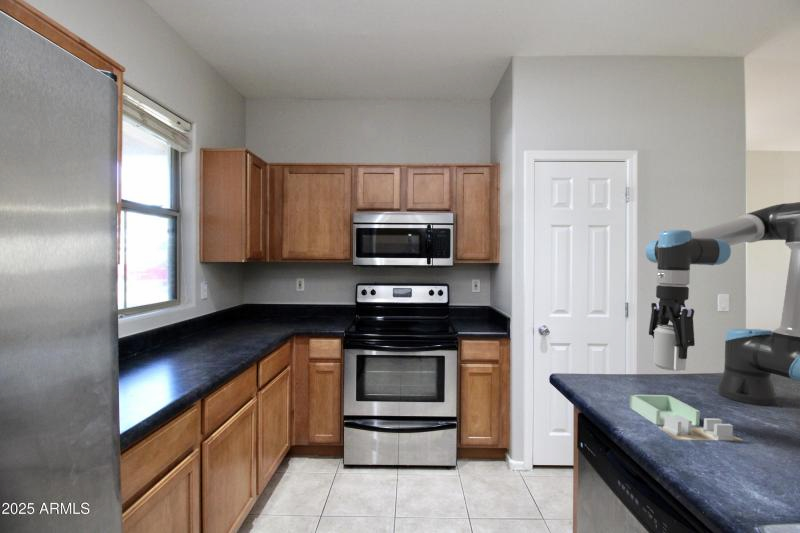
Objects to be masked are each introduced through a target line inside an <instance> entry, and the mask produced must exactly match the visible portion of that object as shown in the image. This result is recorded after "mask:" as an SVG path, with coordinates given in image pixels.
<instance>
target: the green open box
mask: <svg viewBox="0 0 800 533" xmlns="http://www.w3.org/2000/svg"><path fill="white" fill-rule="evenodd" d="M629 409H630V410H633V411H634V412H636V413H637V414H639V415H640V416H642V417H644V418H645V419H646V420H647V421H650V422H651V423H652V424H654V425H655V426H664V423H665V415H669V416H671V417H673V418H675V415H680V416H682V417H685V418H687V419H689V420H691V421H692V426H700V421H701V420H700V419H701V418H700V417H701V411H700V410H698V409H696V408H694V407H693V406H691V405H689V404H687V403H685V402H683V401H681V400H679V399H677V398H675V397H674V396H671V395H670V394H665V395H664V394H629Z"/></svg>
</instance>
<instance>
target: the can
mask: <svg viewBox="0 0 800 533" xmlns="http://www.w3.org/2000/svg"><path fill="white" fill-rule="evenodd" d="M657 326H658V327H657V328H656V329H655V330H653V331H654V338H653V354H652V357H653V358H652V363H653V364H654V365H655V366H656V367H657V368H660V369H662V370H667V371H672V372H673V371H675V372H679V371H681V370H674V351H675V345H676V344H677V341H676V337H675V333H674V328H673V324H668V325H662V324H659V325H657Z"/></svg>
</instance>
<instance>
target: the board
mask: <svg viewBox="0 0 800 533" xmlns="http://www.w3.org/2000/svg"><path fill="white" fill-rule="evenodd" d="M657 428H659V429H660V430H661V431H663V432H664V433H666V434H668V435H669V436H671V437H672V438H674V439H675V440H678V441H718V440H717V439H715V438H713V437H712V436H710V435H708V434H706V433H705V432H703V431H702V428H703V427H692V429H691V431H693V434H692V435H679V436H676V435H674V434H672V433H670V432H668V431H666V430H664V429H663V426H662V427H661V426H658V427H657ZM732 437H734V440H730V441H733V442H734V441H737V442H738V441H740V442H741V441H742V442H744V439H741V438H740V437H738V436H736V435H733V434H732Z"/></svg>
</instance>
